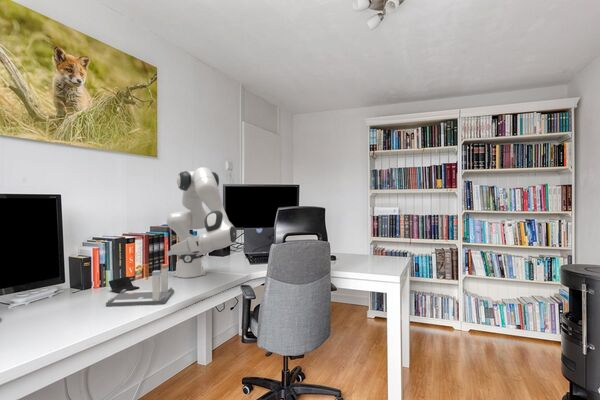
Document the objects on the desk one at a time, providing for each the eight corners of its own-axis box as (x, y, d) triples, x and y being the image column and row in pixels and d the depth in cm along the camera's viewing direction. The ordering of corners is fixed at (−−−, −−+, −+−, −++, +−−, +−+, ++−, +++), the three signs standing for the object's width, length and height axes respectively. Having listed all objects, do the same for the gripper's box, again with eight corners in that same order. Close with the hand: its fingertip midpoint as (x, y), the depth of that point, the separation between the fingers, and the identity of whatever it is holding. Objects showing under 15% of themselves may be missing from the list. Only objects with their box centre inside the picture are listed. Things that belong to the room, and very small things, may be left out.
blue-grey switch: (153, 298, 144) (154, 270, 144) (160, 298, 144) (160, 270, 144) (152, 300, 141) (152, 271, 141) (158, 300, 142) (159, 271, 142)
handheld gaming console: (123, 291, 156) (115, 273, 159) (113, 299, 157) (105, 281, 160) (141, 288, 167) (134, 272, 169) (132, 296, 168) (124, 279, 171)
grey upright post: (162, 289, 158) (162, 264, 158) (168, 289, 158) (168, 264, 158) (160, 291, 155) (160, 265, 155) (166, 291, 156) (167, 265, 156)
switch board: (122, 294, 155) (122, 289, 155) (174, 292, 159) (174, 287, 159) (105, 306, 138) (105, 300, 138) (164, 304, 141) (164, 298, 141)
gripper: (209, 238, 152) (182, 247, 153) (188, 236, 132) (158, 246, 133) (212, 251, 151) (185, 260, 152) (192, 251, 131) (161, 261, 132)
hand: (172, 254), depth 143 cm, fingers open, 8 cm apart
